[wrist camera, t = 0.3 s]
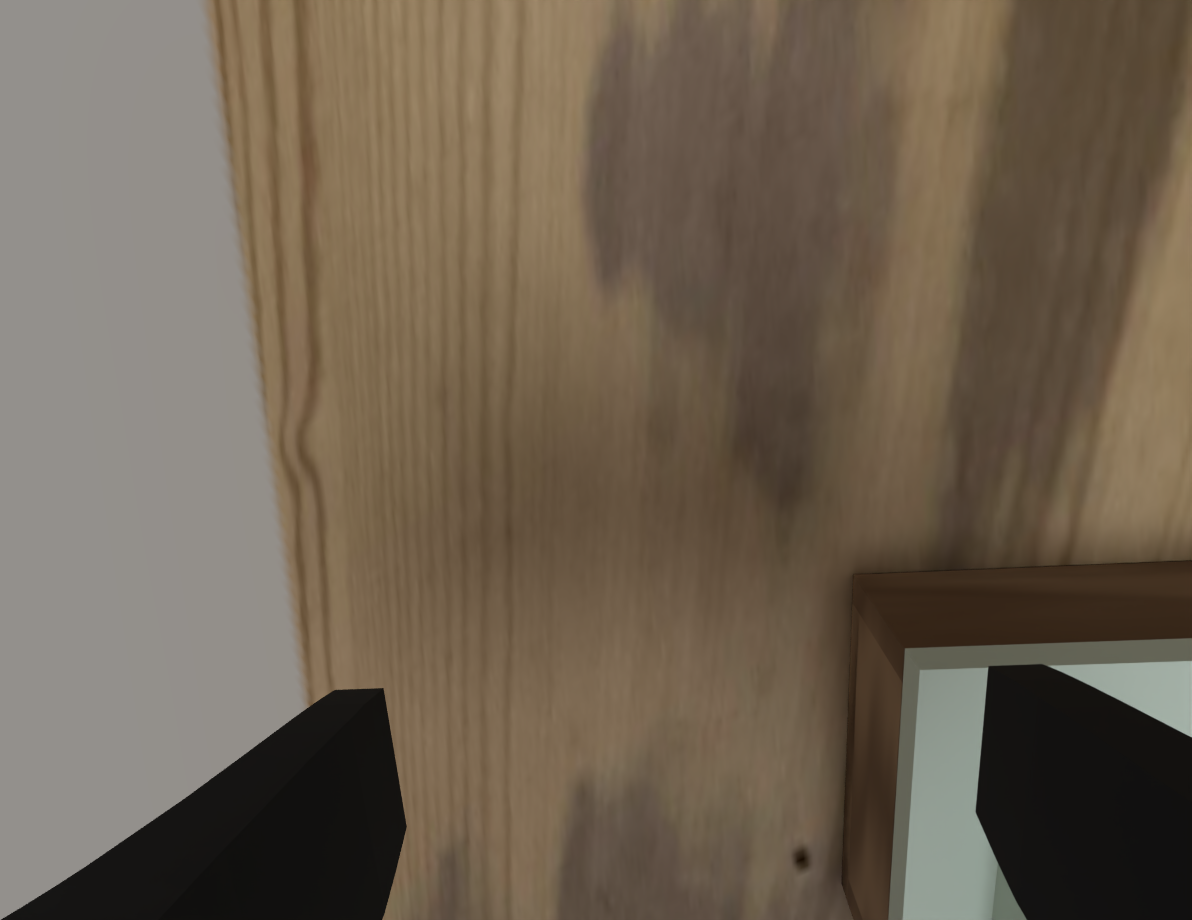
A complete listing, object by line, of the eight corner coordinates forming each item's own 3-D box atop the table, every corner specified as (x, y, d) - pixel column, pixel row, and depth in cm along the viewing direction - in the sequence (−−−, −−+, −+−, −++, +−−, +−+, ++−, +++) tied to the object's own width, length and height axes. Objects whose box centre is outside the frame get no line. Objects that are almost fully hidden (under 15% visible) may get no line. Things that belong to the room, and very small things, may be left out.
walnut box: (1266, 875, 21) (1392, 1000, 18) (841, 883, 22) (882, 1004, 18) (1345, 554, 18) (1513, 627, 15) (853, 574, 19) (904, 649, 15)
